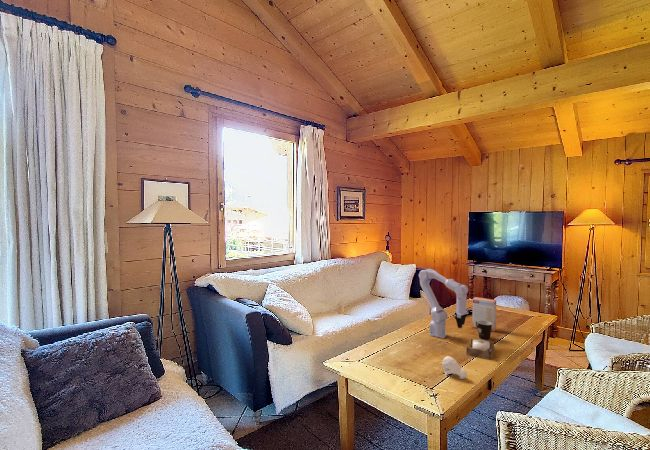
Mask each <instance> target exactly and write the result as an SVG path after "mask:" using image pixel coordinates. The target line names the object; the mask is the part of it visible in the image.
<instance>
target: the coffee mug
mask: <svg viewBox="0 0 650 450" xmlns="http://www.w3.org/2000/svg"><path fill="white" fill-rule="evenodd" d="M477 324H478V326H477ZM476 326H477V328H476V329H477V331H478V338H479V339H481V340H485V341H490V340H491V334H492V331H491V328H492V323H491V322H488V321H477V322H476Z"/></svg>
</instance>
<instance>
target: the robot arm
mask: <svg viewBox="0 0 650 450" xmlns="http://www.w3.org/2000/svg"><path fill="white" fill-rule="evenodd" d="M418 277H419V285H420V287H421V289H422V291H423V293H424V295H425V297H426V300H427V303H428V304H429V306H430V308H431V311H430V314H431V318H432V319H431V321H430V323H429V336H430V337H436V338H442V339H445V338H446V337H447V336H448V333H446V323H447V321H446V320H447V319H448V317H449V316H448V313H447V312H446V311H445V310H444V308H443V306H440V304H439V301H438V300H437V297H436V296H435V293H434V292H433V289H432V287H431V285H430V282H431V280H432V279H435V280H437V281H439V282H441V283H443V284H444V285H445V287H446V288H448V289H449V290H450V291H453V292H454V293H455V294H456V295H455V296H456V305H455V306H456V308H455V313H456V315H455V316H454V320H455V321H456V325H457V328H458V329H463V326H465V322H466V319H467V316H468V314H469V311H467V293H469V288H468V286H467V285H466V284H461V283H460V282H459V283H458V282H457V281H455V279H454V278H449V279H447V278H446V277H445V276H444V275H441V274H440V273H439V272H437V271H436V270H434V269H432V268H427V269H422V270H420V271H419V273H418Z"/></svg>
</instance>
